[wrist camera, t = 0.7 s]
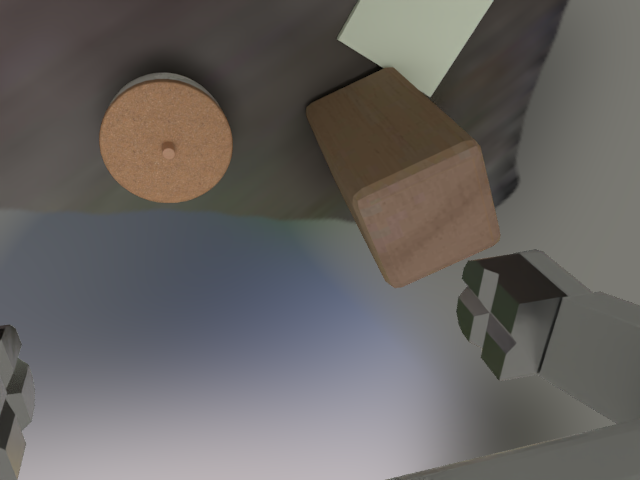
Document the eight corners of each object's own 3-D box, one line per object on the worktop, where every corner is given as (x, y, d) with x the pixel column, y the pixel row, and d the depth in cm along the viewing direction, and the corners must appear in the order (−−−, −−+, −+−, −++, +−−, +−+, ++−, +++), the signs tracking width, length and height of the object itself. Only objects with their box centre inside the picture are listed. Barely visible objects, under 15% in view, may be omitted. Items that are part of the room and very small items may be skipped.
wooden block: (418, 144, 59) (507, 245, 42) (335, 182, 59) (392, 297, 43) (391, 60, 53) (484, 140, 37) (300, 103, 53) (351, 201, 37)
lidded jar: (102, 53, 46) (92, 82, 39) (226, 63, 50) (239, 92, 42) (109, 167, 52) (101, 212, 44) (221, 169, 55) (231, 212, 47)
